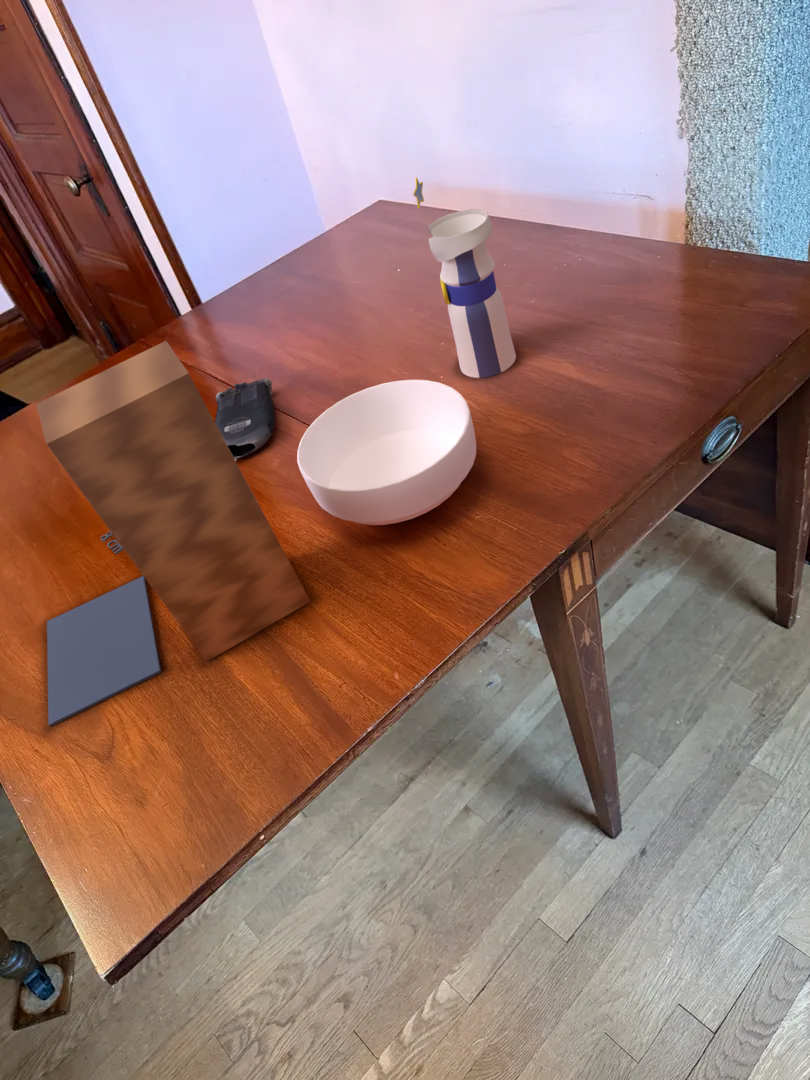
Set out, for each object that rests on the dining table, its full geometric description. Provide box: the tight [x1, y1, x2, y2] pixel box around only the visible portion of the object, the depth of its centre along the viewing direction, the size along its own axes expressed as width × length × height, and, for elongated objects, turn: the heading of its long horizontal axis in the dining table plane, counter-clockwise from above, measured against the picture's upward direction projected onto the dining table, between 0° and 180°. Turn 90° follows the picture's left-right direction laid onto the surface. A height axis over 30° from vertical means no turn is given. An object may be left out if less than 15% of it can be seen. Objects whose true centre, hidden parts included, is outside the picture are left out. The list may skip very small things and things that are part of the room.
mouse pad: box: [46, 575, 162, 727], centre depth 81 cm, size 16×12×1 cm
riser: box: [35, 340, 311, 662], centre depth 70 cm, size 12×8×28 cm, turn 118°
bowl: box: [296, 379, 477, 526], centre depth 84 cm, size 20×20×8 cm
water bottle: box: [412, 176, 517, 379], centre depth 93 cm, size 8×9×25 cm
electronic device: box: [214, 377, 276, 462], centre depth 105 cm, size 9×6×15 cm
